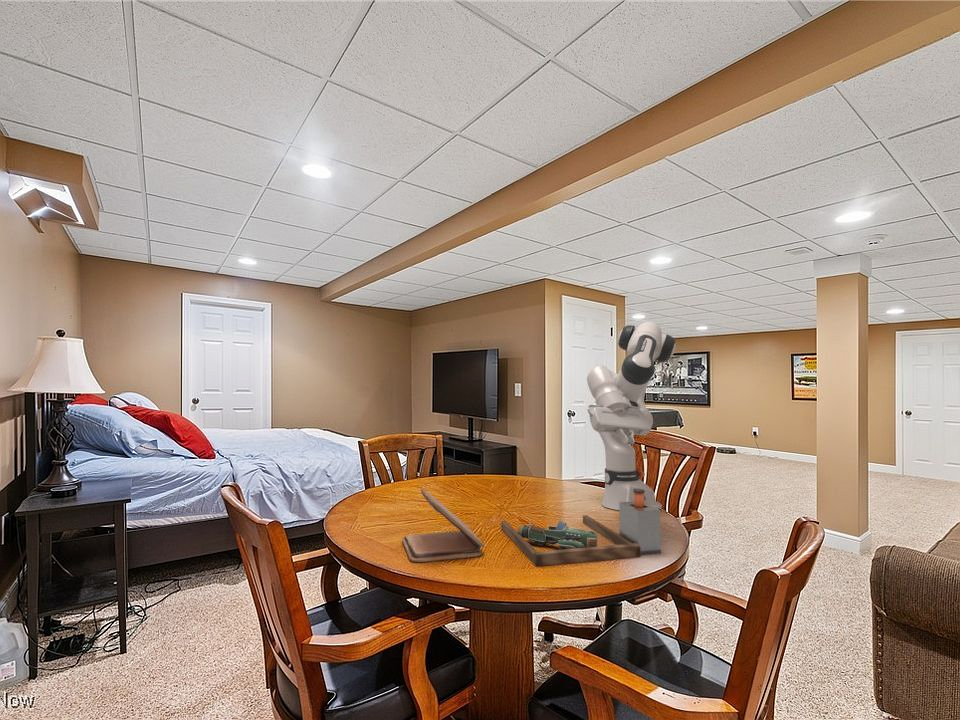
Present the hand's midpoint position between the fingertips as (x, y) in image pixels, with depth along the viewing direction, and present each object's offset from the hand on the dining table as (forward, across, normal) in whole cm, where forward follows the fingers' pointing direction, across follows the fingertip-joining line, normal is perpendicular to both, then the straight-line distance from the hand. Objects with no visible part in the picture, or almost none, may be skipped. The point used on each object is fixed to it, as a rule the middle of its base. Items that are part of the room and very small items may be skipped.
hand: (629, 443), depth 144 cm
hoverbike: (+20, -19, +26) cm, 38 cm away
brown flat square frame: (+17, -14, +28) cm, 36 cm away
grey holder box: (+24, +4, +18) cm, 30 cm away
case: (+14, -50, +37) cm, 64 cm away
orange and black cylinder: (+17, +3, +12) cm, 21 cm away
